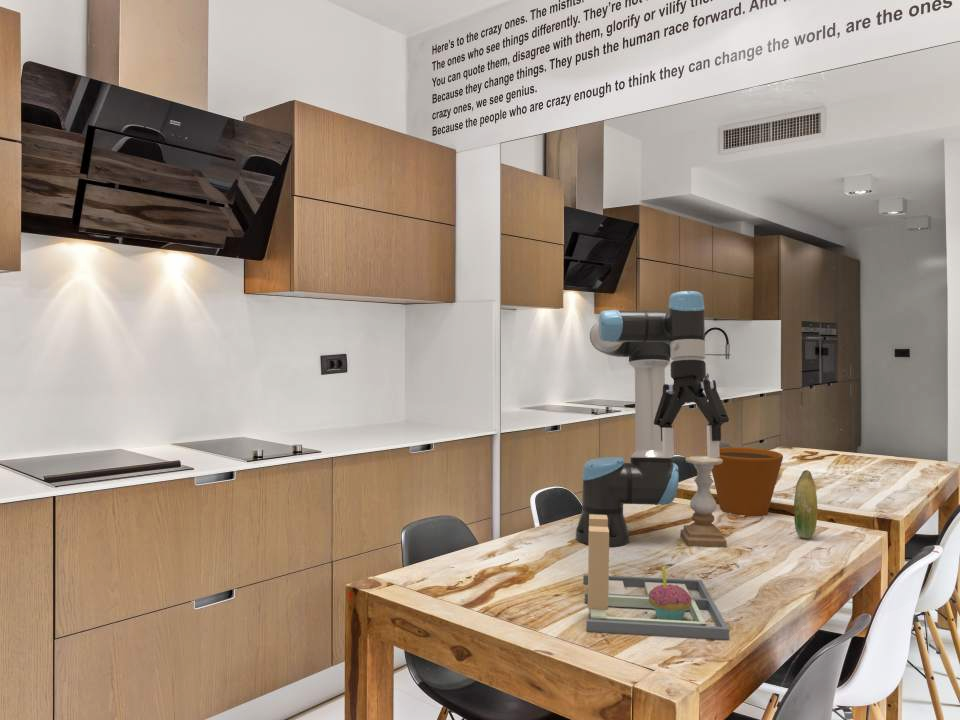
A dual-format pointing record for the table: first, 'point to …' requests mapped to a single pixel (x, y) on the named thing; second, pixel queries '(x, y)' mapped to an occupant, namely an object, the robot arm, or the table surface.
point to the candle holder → (703, 507)
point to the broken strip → (618, 586)
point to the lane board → (659, 628)
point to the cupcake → (669, 600)
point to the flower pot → (746, 479)
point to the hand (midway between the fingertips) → (690, 457)
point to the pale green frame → (600, 584)
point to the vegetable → (805, 506)
